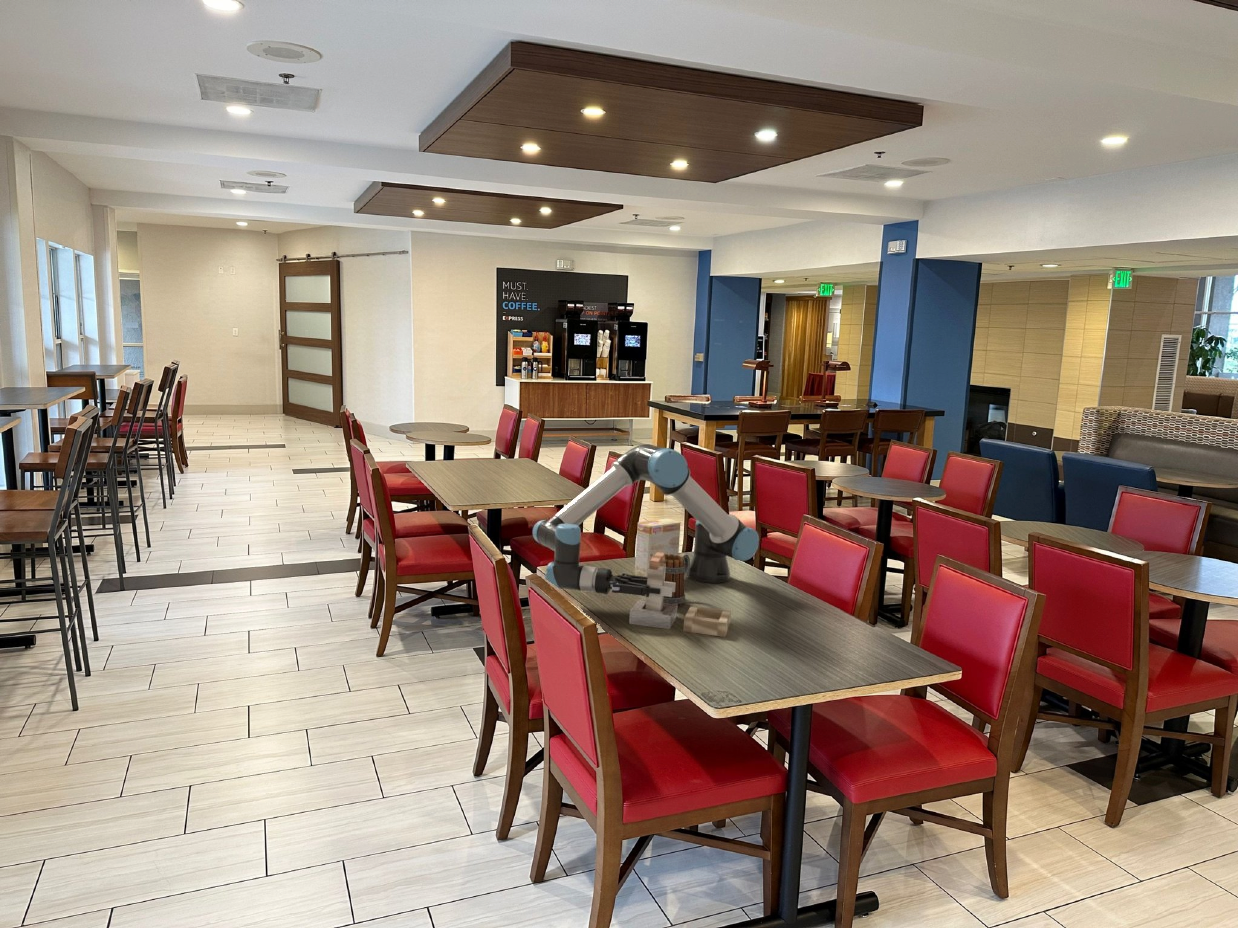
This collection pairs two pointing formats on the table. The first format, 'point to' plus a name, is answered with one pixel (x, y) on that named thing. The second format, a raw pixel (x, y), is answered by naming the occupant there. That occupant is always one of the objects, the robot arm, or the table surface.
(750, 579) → the table surface
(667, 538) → the coffeecake box
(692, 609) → the block
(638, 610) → the plate
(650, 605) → the t-key
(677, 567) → the mug
